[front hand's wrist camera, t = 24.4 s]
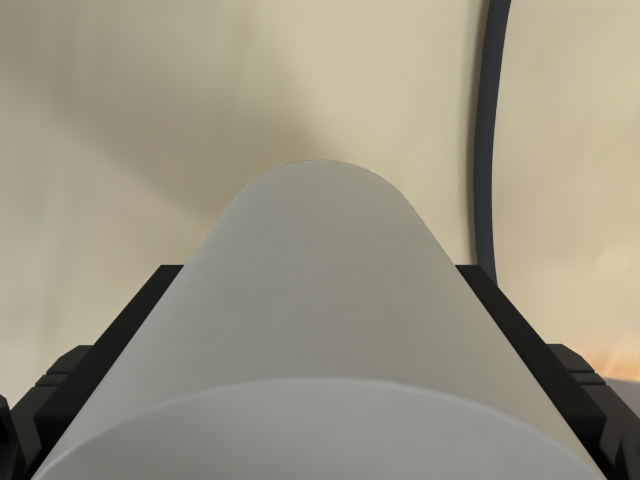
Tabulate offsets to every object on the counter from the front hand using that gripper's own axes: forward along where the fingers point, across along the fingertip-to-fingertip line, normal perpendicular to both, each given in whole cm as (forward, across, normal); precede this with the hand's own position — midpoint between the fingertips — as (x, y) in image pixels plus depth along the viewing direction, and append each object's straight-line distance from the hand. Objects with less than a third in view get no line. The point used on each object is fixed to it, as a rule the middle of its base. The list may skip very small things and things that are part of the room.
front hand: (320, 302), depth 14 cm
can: (+3, 0, 0) cm, 3 cm away
